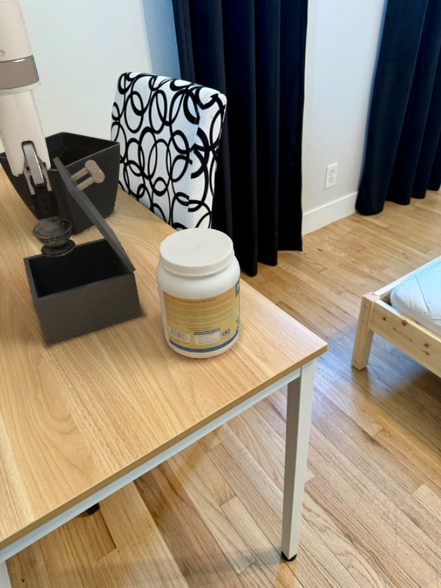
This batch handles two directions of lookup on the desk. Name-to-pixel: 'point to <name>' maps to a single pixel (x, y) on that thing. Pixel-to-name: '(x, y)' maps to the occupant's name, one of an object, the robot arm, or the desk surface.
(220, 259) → the supplement tub
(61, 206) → the flower pot
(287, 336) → the desk surface
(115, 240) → the lid
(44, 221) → the chess piece
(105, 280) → the chest
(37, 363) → the desk surface
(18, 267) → the desk surface
